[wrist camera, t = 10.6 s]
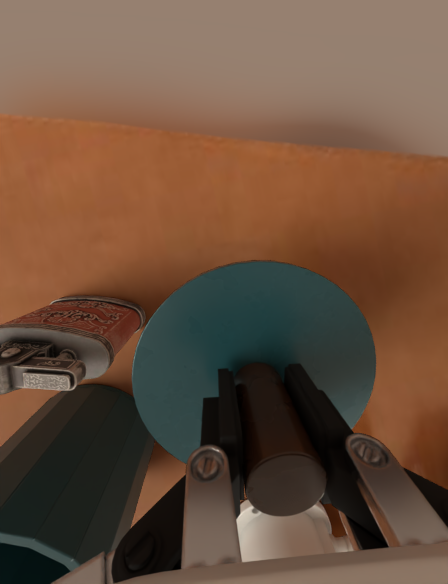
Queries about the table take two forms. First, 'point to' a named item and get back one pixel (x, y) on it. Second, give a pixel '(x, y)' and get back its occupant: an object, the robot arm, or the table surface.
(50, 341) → the lighter
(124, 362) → the table surface
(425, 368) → the table surface
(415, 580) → the robot arm
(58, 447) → the tin
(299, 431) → the tin lid
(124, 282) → the table surface
